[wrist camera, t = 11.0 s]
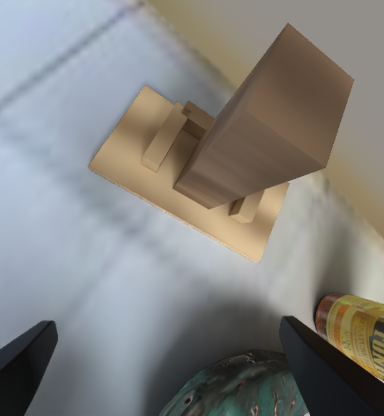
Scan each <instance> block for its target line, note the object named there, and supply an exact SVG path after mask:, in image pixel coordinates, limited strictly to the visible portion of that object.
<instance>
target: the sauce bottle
mask: <svg viewBox="0 0 384 416" xmlns="http://www.w3.org/2000/svg"><path fill="white" fill-rule="evenodd" d="M315 319H316V321H315V324H316V328H317V331H318V334H319V335H320V336H321V337H322V338H324V339H325V340H326V341H328V342H329V343H330V344H332V345H333V346H334V347H336V348H337V349H338V350H340V351H341V352H342V353H344V354H345V355H346V356H348V357H349V358H351V359H352V360H353V361H355V362H356V363H357V364H359V365H360V366H361V367H363V368H364V369H365V370H367V371H368V372H369V373H371V374H372V375H374V376H376V377H377V378H379V379H381V380H383V381H384V304H381V303H378V302H374V301H371V300H367V299H364V298H360V297H357V296H353V295H345V294H341V293H331V294H328V295H326V296H325V297H324V298H323V299H322V300H321V302H320V304H319V306H318V309H317V311H316V317H315Z"/></svg>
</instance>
